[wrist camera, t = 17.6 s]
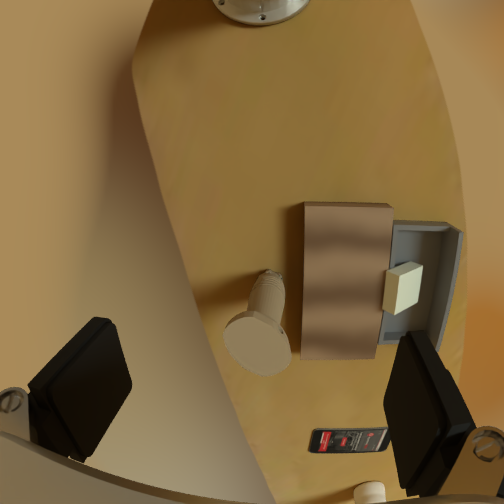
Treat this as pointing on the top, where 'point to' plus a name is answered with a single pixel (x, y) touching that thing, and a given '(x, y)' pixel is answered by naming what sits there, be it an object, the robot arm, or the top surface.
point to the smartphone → (350, 440)
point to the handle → (261, 329)
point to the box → (424, 278)
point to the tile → (402, 287)
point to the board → (344, 278)
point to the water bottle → (369, 493)
